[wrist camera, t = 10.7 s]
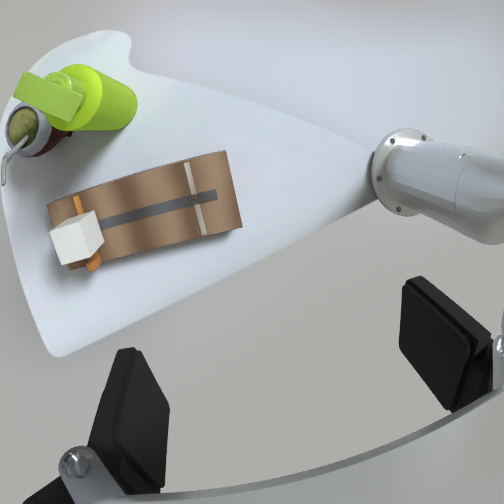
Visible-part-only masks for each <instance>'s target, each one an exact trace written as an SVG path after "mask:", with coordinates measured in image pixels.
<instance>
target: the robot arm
mask: <svg viewBox="0 0 504 504" xmlns="http://www.w3.org/2000/svg"><path fill="white" fill-rule="evenodd" d="M390 140H391V142H390ZM377 177H378V178H377ZM371 178H372V184H373V188H374V191H375V193H376V196H377V198H378V199H379V201H380V202H381V203H382V204H383V205H384V206H385V207H386V208H387V209H388V210H390V211H391V212H393V213H395V214H397V215H401V216H414V215H418V214H420V213H421V214H423V215H425V216H428V217H430V218H432V219H434V220H436V221H438V222H440V223H442V224H444V225H446V226H448V227H450V228H452V229H454V230H456V231H458V232H460V233H462V234H464V235H466V236H468V237H470V238H472V239H474V240H476V241H478V242H480V243H483V244H487V245H497V244H501V243H504V154H503V153H498V152H493V151H487V150H482V149H476V148H471V147H465V146H457V145H451V144H445V143H438V142H434V141H433V139H432V138H430V137H429V136H428V135H427V134H426V133H424V132H422V131H420V130H417V129H412V128H405V129H404V128H403V129H398V130H396V131H393V132H391V133H390V134H388V135H387V136H386V137H385V138H384V139H383V140H382V141H381V143H380V144H379V146H378V147H377V149H376V151H375V154H374V157H373V161H372V167H371ZM501 327H502V335H499V336H498V337H496V338H495V340H493V339H491V338H490V337H491V333H490V332H489V331H488V330H487V329H485V328H484V327H483V326H482V325H481V324H480V323H479V322H477V321H476V320H475V319H474V318H473V317H472V316H470V315H469V314H468V313H467V312H466V311H465V310H463V309H462V308H461V307H460V306H459V305H457V304H456V303H455V302H454V301H453V300H451V299H450V298H449V297H448V296H446V295H445V294H444V293H443V292H442V291H440V290H439V289H438V288H436V287H435V286H434V285H433V284H431V283H430V282H429V281H428V280H426V279H425V278H424V277H422V276H417V277H414V278H411V279H409V280H407V281H406V283H405V285H404V286H403V287H402V304H401V320H400V333H399V348H400V350H401V352H402V353H403V354H404V356H405V357H406V358H407V360H408V361H409V362H410V364H411V365H412V366H413V367H414V369H415V370H416V371H417V373H418V374H419V375H420V377H421V378H422V379H423V381H424V382H425V383H426V384H427V386H428V387H429V389H430V390H431V391H432V393H433V394H434V395H435V397H436V398H437V399H438V401H439V402H440V403H441V405H442V406H443V407H444V409H446V410H450V411H451V413H452V414H450V415H448V416H446V417H444V418H442V419H440V420H438V421H437V422H434V423H432V424H430V425H428V426H426V427H424V428H422V429H420V430H418V431H416V432H414V433H411V434H409V435H407V436H405V437H403V438H400V439H398V440H395V441H393V442H391V443H388V444H386V445H383V446H380V447H378V448H375V449H373V450H370V451H368V452H365V453H362V454H359V455H356V456H353V457H351V458H348V459H345V460H342V461H339V462H335V463H332V464H329V465H326V466H322V467H319V468H315V469H311V470H308V471H304V472H300V473H296V474H292V475H288V476H283V477H279V478H274V479H270V480H265V481H260V482H254V483H249V484H243V485H237V486H230V487H223V488H216V489H207V490H197V491H187V492H175V493H160V488H163V487H164V485H165V472H166V454H167V439H168V425H169V413H170V408H169V404H168V401H167V399H166V398H165V396H164V394H163V392H162V390H161V388H160V387H159V385H158V383H157V381H156V379H155V377H154V376H153V373H152V372H151V370H150V368H149V366H148V364H147V362H146V360H145V358H144V356H143V354H142V352H141V351H137V350H136V349H135V348H134V347H131V348H125V349H119V350H118V351H117V354H116V357H115V359H114V362H113V365H112V368H111V371H110V374H109V377H108V380H107V384H106V386H105V389H104V391H103V393H102V396H101V399H100V403H99V406H98V409H97V413H96V416H95V419H94V423H93V426H92V430H91V433H90V437H89V441H88V444H87V446H77V447H73V448H71V449H69V450H68V451H67V452H66V453H64V455H63V456H62V458H61V459H60V462H59V469H58V470H59V473H60V476H59V477H58V478H56V479H55V480H54V481H52V482H51V483H49V484H48V485H46V486H45V487H43V488H42V489H41V490H39V491H38V492H36V493H35V494H33V495H32V496H30V497H29V498H27V499H26V500H25V501H24V502H23V504H504V312H503V316H502V326H501Z"/></svg>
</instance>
